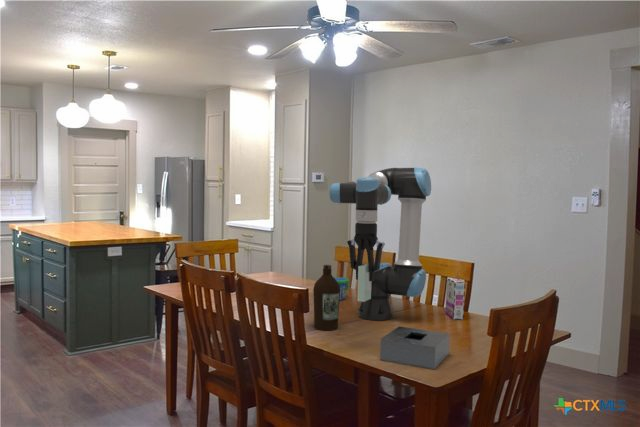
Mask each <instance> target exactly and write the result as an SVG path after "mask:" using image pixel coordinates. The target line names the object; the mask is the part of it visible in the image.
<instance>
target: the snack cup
mask: <svg viewBox="0 0 640 427" xmlns="http://www.w3.org/2000/svg"><path fill="white" fill-rule="evenodd" d="M333 277H334V276H333ZM334 279H335V280H336V281H337V282H338V283H339V286H340V300H339V301H342V300H345V299H346V295H347V291H349V290H350V287H349V286H350V285H349V283H350V282H349V281H350V280H349V278H347V277H340V276H339V277H336V276H335V277H334Z"/></svg>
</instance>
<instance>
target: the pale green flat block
mask: <svg viewBox="0 0 640 427" xmlns="http://www.w3.org/2000/svg"><path fill="white" fill-rule="evenodd" d="M368 271H369V267H368V263H367V264H366V263H365V264H362V265H361V266H358V280H357V302H361V301H362V302H365V301H367V300H369V299H371V290H370V291H366V284H367V272H368Z"/></svg>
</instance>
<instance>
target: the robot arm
mask: <svg viewBox="0 0 640 427" xmlns="http://www.w3.org/2000/svg"><path fill="white" fill-rule="evenodd" d="M431 193H432V179H431V176H430V173H429V171H428V170H427V169H426V168H423V167H391V168H388V167H387V168H384V169H381V170H377V171H374V172H372V173H370V174H369V175H368V176H366V177H365V176H364V177H359V178H357V179H355V180H352V181H348V182H334V183H332V184H331V185H330V188H329V194H328V195H329V200H330V202H332V203H334V204H353V205H354V204H355V221H356V222H355V226H354V237H353V239H350V240H347V242H346V243H347V245H348V250H349V251H348V252H349V261H350V262H349V263H350V268H351V269H353V270H355V280H357V281H358V266H361V265H363V259H364V252H365V250H366V253H367V264H368V267H369V271H368V272H367V284H366V291H370V290H371V299H369V300H367V301H365V302H362V301H360V305H359V306H358V307H359V308H358V311H357V316H358V317H359V318H360V319H364V320H367V321H368V320H370V321H386V320H387V321H388V320H391V319H393V318H394V311H393V307H392V304H391V301H390V295H393V296H394V295H395V296H404V297H409V298H410V297H413V298H417V297H420V296H421V295H422V294H423V291H424V289H425V286H426V282H427V272H426V270H425V269H423V264H422V263H421V262H420V261H419V260H420V246H421V245H420V243H421V242H420V241H421V227H422V226H421V224H422V211H423V210H422V208H423V204H424V203H425V202H426V201H427V197H429V196H430V195H431ZM392 196H398V197H397V200H399V202H400V204H401V205H400V218H399V219H400V223H399V237H398V240H399V242H398V253H397V254H398V255H397V260H396V261H395V262H394V263H393V266H392V264H391V263H390V262H382V261H381V260H382V254H383V249H384V247H385V245H386V244H385V242H384V241H380V240H379V238H378V236H377V235H378V224H377V223H376V222H377V221H378V207H379V206H382V205H384V204H387V203H388V202H390V200H391V197H392ZM378 205H379V206H378ZM356 245H357V252H356ZM375 246H376V250H375V255H374V247H375Z"/></svg>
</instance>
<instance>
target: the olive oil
mask: <svg viewBox="0 0 640 427" xmlns="http://www.w3.org/2000/svg"><path fill="white" fill-rule="evenodd" d="M322 266H323V268H322V275H321V276H320V277H319V278H318V279H317V280H316V282H315V283H314V286H313V288H312V291H313V293H312V294H313V312H314V313H313V323H314V324H313V328H314V329H315V330H318V331H324V332H325V331H330V332H331V331H335V330H337V329H338V328H339V313H340V312H339V309H340V301H341V300H340V286H339V283H338V282H337V281H336V280H335V279H334V276H333V275H332V264H323V265H322Z"/></svg>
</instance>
